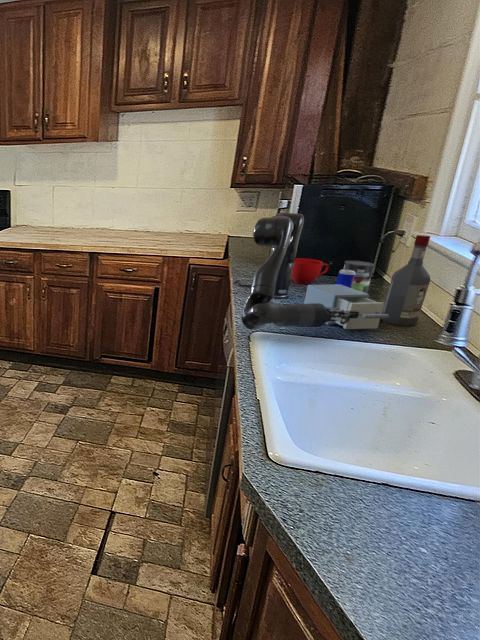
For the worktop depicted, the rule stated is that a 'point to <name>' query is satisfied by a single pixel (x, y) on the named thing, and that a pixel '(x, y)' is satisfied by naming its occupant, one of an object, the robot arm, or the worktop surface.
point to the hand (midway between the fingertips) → (356, 314)
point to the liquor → (408, 288)
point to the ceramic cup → (307, 270)
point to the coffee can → (360, 274)
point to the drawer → (361, 312)
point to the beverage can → (346, 277)
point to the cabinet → (330, 295)
